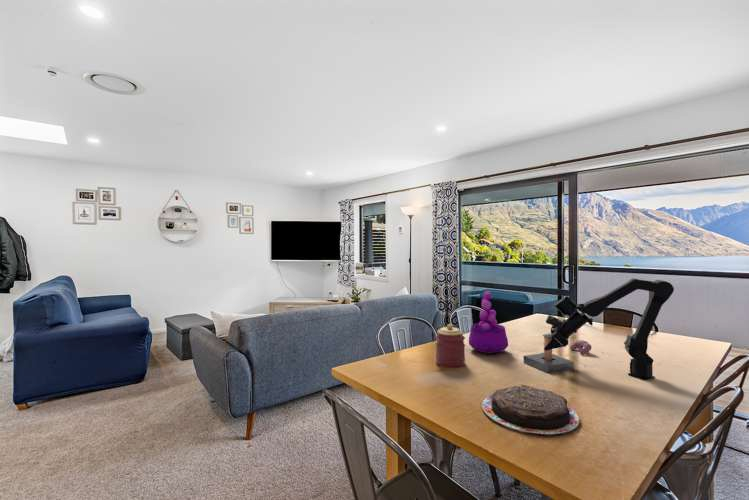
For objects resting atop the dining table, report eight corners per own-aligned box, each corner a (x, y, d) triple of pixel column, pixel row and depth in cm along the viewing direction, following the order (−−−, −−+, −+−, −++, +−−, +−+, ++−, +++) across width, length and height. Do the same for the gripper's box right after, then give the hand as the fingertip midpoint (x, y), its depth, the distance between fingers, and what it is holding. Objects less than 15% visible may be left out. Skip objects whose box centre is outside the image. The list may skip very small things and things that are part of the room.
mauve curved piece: (588, 358, 167) (595, 345, 167) (580, 354, 167) (586, 341, 167) (576, 352, 177) (582, 340, 177) (568, 348, 177) (574, 336, 177)
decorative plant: (511, 358, 164) (510, 294, 164) (470, 356, 168) (469, 293, 168) (504, 346, 183) (504, 289, 182) (467, 345, 186) (467, 288, 186)
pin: (554, 367, 151) (554, 334, 151) (545, 367, 151) (544, 334, 151) (551, 364, 155) (550, 332, 155) (541, 364, 155) (541, 332, 155)
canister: (462, 358, 164) (462, 321, 164) (467, 368, 151) (466, 327, 151) (434, 358, 165) (434, 320, 165) (436, 367, 152) (436, 327, 152)
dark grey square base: (574, 368, 149) (574, 361, 149) (548, 372, 144) (548, 365, 144) (548, 359, 162) (548, 352, 162) (523, 362, 158) (523, 355, 158)
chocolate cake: (465, 414, 110) (465, 393, 110) (505, 388, 130) (505, 371, 130) (561, 450, 90) (561, 425, 90) (591, 413, 110) (591, 393, 110)
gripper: (556, 306, 160) (530, 328, 165) (558, 313, 143) (529, 337, 148) (576, 324, 157) (549, 346, 161) (581, 334, 140) (550, 358, 144)
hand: (544, 346), depth 154 cm, fingers open, 9 cm apart
